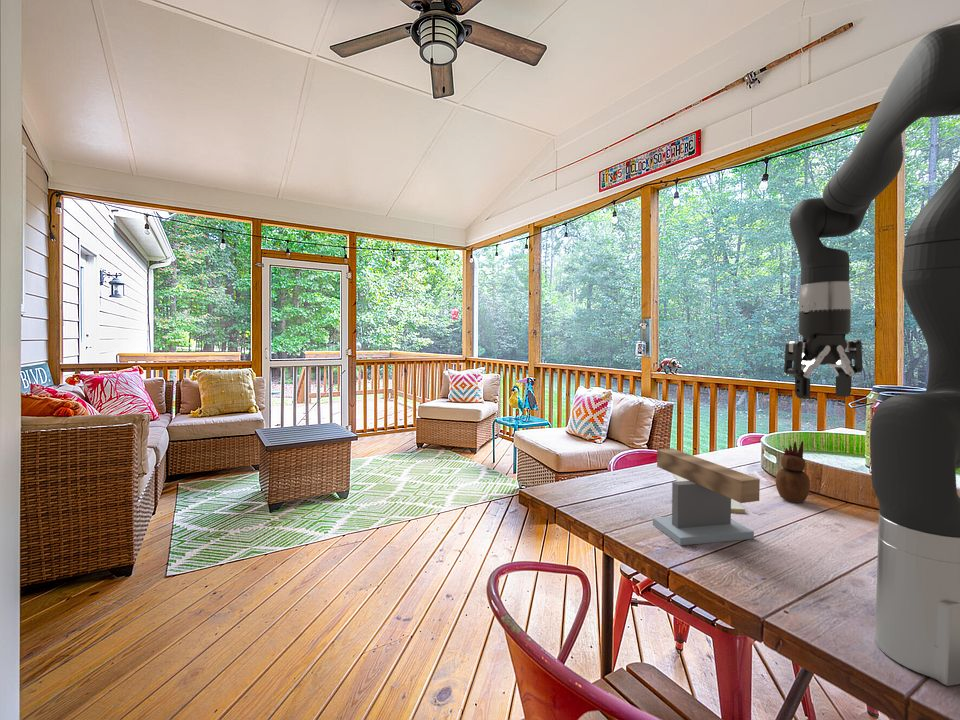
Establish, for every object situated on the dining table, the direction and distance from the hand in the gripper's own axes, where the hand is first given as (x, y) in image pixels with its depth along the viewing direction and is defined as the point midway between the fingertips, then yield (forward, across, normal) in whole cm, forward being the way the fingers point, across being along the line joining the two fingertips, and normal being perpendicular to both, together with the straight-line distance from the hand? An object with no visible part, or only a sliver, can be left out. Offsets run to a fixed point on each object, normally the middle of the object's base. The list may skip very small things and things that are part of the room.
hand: (822, 397), depth 82 cm
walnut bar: (+18, +15, -13) cm, 27 cm away
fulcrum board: (+29, +15, -13) cm, 35 cm away
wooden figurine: (+29, -18, -24) cm, 42 cm away
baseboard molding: (+30, -1, -36) cm, 47 cm away
